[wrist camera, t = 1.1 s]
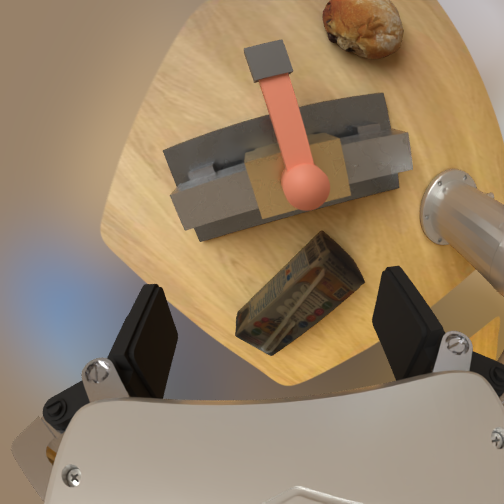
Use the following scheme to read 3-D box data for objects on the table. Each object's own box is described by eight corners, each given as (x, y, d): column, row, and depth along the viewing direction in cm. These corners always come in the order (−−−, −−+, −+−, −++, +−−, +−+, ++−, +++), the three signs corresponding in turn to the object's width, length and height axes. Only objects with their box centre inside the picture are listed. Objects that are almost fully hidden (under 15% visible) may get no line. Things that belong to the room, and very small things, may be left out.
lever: (326, 194, 26) (333, 204, 24) (286, 205, 27) (290, 215, 24) (283, 44, 19) (288, 36, 17) (239, 54, 20) (238, 48, 17)
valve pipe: (379, 92, 28) (414, 92, 21) (395, 185, 34) (428, 207, 27) (164, 149, 32) (140, 162, 24) (201, 238, 38) (189, 273, 31)
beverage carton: (233, 310, 45) (231, 340, 39) (320, 225, 38) (333, 248, 32) (270, 332, 47) (272, 361, 41) (355, 257, 40) (370, 282, 34)
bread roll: (382, 59, 29) (427, 50, 22) (334, 68, 26) (385, 54, 20) (354, 0, 24) (395, -16, 17) (301, 1, 22) (343, -25, 15)
